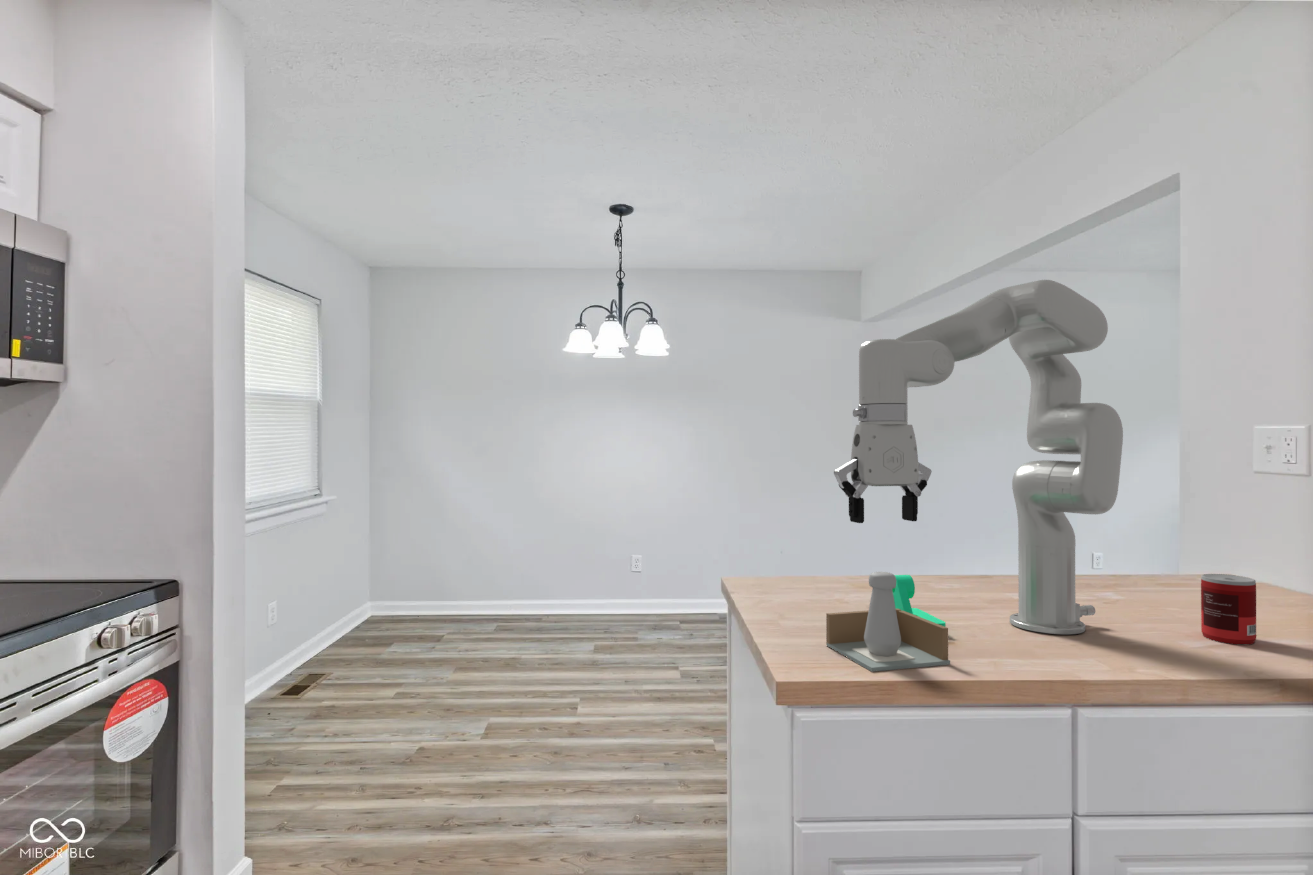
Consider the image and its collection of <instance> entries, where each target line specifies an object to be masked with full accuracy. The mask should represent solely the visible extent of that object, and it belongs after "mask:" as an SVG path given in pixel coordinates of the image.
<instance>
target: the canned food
mask: <svg viewBox="0 0 1313 875" xmlns="http://www.w3.org/2000/svg"><path fill="white" fill-rule="evenodd" d="M1200 576H1201V578H1200V605H1201V606H1200V613H1201V614H1200V616H1201V617H1200V620H1201V621H1200V622H1201V624H1200V625H1201V626H1200V627H1201V628H1200V629H1201V633H1202V636H1203V637H1204V638H1205V637H1206V639H1207V638H1209V639H1208V640H1210V639H1211V640H1210V641H1213V640H1215V641H1214V642H1217V641H1218V643H1222V642H1224V643H1223V644H1228V643H1229V644H1230V645H1237V644H1249V645H1253V644H1255V642H1256V639H1257V582H1256V581H1257V580H1255V579H1254V578H1251V577H1248V576H1243V575H1236V574H1235V575H1233V574H1226V573H1205V574H1204V573H1203V574H1201V575H1200Z"/></svg>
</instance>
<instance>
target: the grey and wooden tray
mask: <svg viewBox="0 0 1313 875" xmlns="http://www.w3.org/2000/svg"><path fill="white" fill-rule="evenodd" d="M868 611H869V609H868V610H857V611H842V612H841V611H840V612H826V613H825V614H826V618H825V619H826V620H825V621H826V626H825V627H826V631H825V632H826V634H825V635H826V643H825V644H826V645H827V646H828V648H829V647H831V648H832V649H831V648H830V649H831V650H833V649H834V650H835V651H834V650H833V651H834V652H836V651H838V652H839V653H838V652H837V653H838V654H840V653H841V654H840V655H842V654H843V655H844V656H843V655H842V656H843V657H845V656H847V657H848V658H847V657H846V658H847V659H849V658H850V659H851V661H852V660H853V661H852V662H854V661H855V662H854V663H856V664H857V663H858V665H859V666H861V667H863V668H865V669H866V670H868V671H870V672H881V671H882V672H883V671H893V670H902V669H903V670H905V669H915V668H924V667H925V668H926V667H938V666H946V665H951V660H950V659H949V627H947V626H946V627H944V626H942V625H939V624H936V623H934V622H931V621H929V620H926V619H924V618H921V617H918V616H916V615H913V614H911V613H908V612H905V611H901V610H900V609H896V614H897V620H898V625H899V630H900V635H901V644H900V646H899V649H898V651H897V653H896V655H894V656H890V657H885V656H876V655H874V654H872V653H869V651H868V648H867V646H866V643H865V641H864V634H865V628H866V622H867V617H868ZM827 646H826V647H827ZM850 659H849V660H850Z"/></svg>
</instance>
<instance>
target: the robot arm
mask: <svg viewBox="0 0 1313 875" xmlns="http://www.w3.org/2000/svg"><path fill="white" fill-rule="evenodd" d="M1108 329H1109V324H1108V320H1107V318H1106V316H1105V314H1104V312H1103V311H1102V310H1101V308H1099V306H1098V305H1096V304H1095V303H1094V302H1093V301H1091V300H1089V299H1087V298H1086V297H1084V296H1083V295H1081V294H1080V293H1078V292H1077V291H1075V290H1073V289H1072V288H1071V287H1069V286H1066V285H1065V284H1062V283H1061V282H1058V281H1055V280H1051V279H1041V280H1040V279H1038V280H1034V281H1030V282H1025V283H1021V284H1015V285H1011V286H1006V287H1004V288H1001V289H997V290H995V291H993V292H992V293H990V294H987V295H985V296H984V297H982V298H980V299H979V300H977V301H975V302H973V303H972V304H970V305H968V306H966V307H965V308H962V309H960V310H959V311H958V312H955V313H952V314H951V315H947V316H945V317H943V318H941V319H938V320H935V321H933V322H932V323H929V324H926V325H925V326H922V327H919V328H916V329H914V330H912V331H910V332H907V333H905V334H903V335H901V336H899V337H898V338H897V337H896V338H892V339H891V338H882V339H881V338H880V339H873V340H872V339H871V340H867V341H865V342H863V343H861V345H860V346H859V348H858V349H859V351H858V408H854V409H853V410H852V416H853V418H858V424H855V428H854V432H853V437H852V445H851V455H850V456H851V457H850V461H848V462H846V463H844V464H843V465H841V466H839V467H838V468H836V469H835V470H833V475H834V477H835V480H836V482H837V483H838V486H839V488H840V489H841V490H842V492H844V494H845V496H846V497H847V498H848V516H849V521H850V522H852V523H855V524H856V523H857V524H863V523H864V522H865V499H864V498H863V497H861V496H862V495H863V494H864V492H865V490H866V489H867V488H868V487H869V486H870V487H900V489H901V490H902V491H903V493H904V495H902V497H901V519H902V520H904V521H908V522H917V521H918V513H919V512H918V510H919V508H918V507H919V503H918V502H919V500H918V497H920V496H921V495H922V492H923V491H924V489H925V488H926V487H927V486H928V481H929V479H930V477H931V475H932V469H931V468H930V467H927V466H926V465H924V464H923V463H921V462H919V456H918V447H917V445H918V444H917V440H916V439H917V438H916V434H915V430H914V427H913V424H908V409H909V408H908V389H909V388H921V387H932V386H936V385H939V384H941V383H943V382H945V381H946V380H947V379H948V378H949V377H951V375H952V373H953V371H954V368H955V363H956V362H960V361H964V360H968V359H972V358H974V357H978V356H980V355H982V354H983V353H985V352H987V351H989V350H990V349H993V347H995V346H996V345H998V344H1000V343H1002V342H1003V341H1004V340H1006V339H1008V342H1009V344H1010V346H1011V348H1012V350H1013V352H1014V353H1015V354H1016V356H1018V358H1019V359H1020V361H1021V362H1022V363H1023V365H1024V366H1025V369H1026V370H1027V372H1028V376H1029V380H1030V395H1029V407H1028V413H1027V415H1028V416H1027V425H1026V426H1027V427H1026V439H1027V440H1026V441H1027V444H1028V445H1029V447H1030V448H1031V450H1033V451H1035V452H1037V453H1040V454H1041V453H1042V454H1049V455H1050V454H1051V455H1080V461H1079V460H1078V461H1076V460H1075V461H1070V460H1068V461H1067V460H1049V459H1048V460H1047V459H1046V460H1045V459H1043V460H1034V461H1029V462H1026V463H1023V464H1021V465H1020V466H1019V467H1018V468H1016V470H1015V472H1014V474H1013V476H1012V480H1011V486H1012V487H1011V489H1012V494H1013V498H1014V503H1015V508H1016V514H1017V523H1018V524H1017V525H1018V526H1017V528H1018V531H1017V532H1018V536H1017V537H1018V538H1017V540H1018V542H1017V544H1018V550H1017V552H1018V553H1017V554H1018V556H1017V558H1018V559H1017V560H1018V564H1017V565H1018V569H1017V570H1018V575H1017V576H1018V577H1017V578H1018V579H1017V580H1018V613H1013V614H1011V615H1010V616H1009V623H1010V624H1011V625H1013V626H1014V627H1017V628H1019V629H1023V630H1026V631H1029V632H1030V631H1031V632H1035V633H1041V634H1048V635H1049V634H1052V635H1077V634H1082V633H1084V632H1086V624H1085V623H1084V622H1083V621H1081V618H1082V617H1083V616H1085V617H1086V616H1087V617H1089V616H1093V615H1095V614H1096V608H1095V606H1094V605H1093V604H1085V605H1084V604H1083V605H1080V603H1078V602H1076V535H1075V534H1076V533H1075V530H1074V527H1073V526H1072V524H1071V522H1070V520H1069V518H1068V517H1067V516H1066V514H1065V513H1067V514H1068V513H1070V514H1080V515H1081V514H1083V515H1102V514H1105V513H1107V512H1109V511H1110V510H1111V509H1112V508H1113V507H1114V506H1115V503H1116V500H1117V498H1118V493H1119V492H1118V491H1119V484H1120V475H1121V466H1122V465H1121V464H1122V455H1123V452H1122V451H1123V444H1124V443H1123V441H1124V430H1123V429H1124V428H1123V422H1122V420H1121V417H1120V415H1119V413H1118V412H1117V410H1116V409H1114V408H1113V407H1112V406H1111V405H1108V404H1106V403H1101V402H1081V398H1082V378H1081V376H1080V374H1079V371H1078V369H1076V367H1075V366H1074V364H1073V363H1072V362H1071V361H1070V360H1069V359H1068V358H1067V357H1066V356H1065V354H1066V355H1067V354H1074V353H1075V354H1076V353H1084V352H1088V351H1089V352H1090V351H1093V350H1095V349H1096V348H1098V347H1100V346H1101V345H1102V344H1103V343H1105V342H1104V341H1105V340H1106V338H1107V336H1108V331H1109V330H1108ZM849 473H850V478H851V479H850V480H851V481H852V482H850V481H849V480H848V477H847V476H848V474H849Z"/></svg>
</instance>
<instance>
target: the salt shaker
mask: <svg viewBox="0 0 1313 875" xmlns="http://www.w3.org/2000/svg"><path fill="white" fill-rule="evenodd" d="M895 575H896V574H893V573H891V572H888V571H874V572H871V573H870V574H869V576H868V585H869V587H871V588H872V589H871V594H870V600H869V605H868V606H869V607H868V610H869V611H868V610H867V611H868V617H867V622H866V628H865V634H864V641H865V643H866V646H867V648H868V651H869V653H872V654H874V655H876V656H885V657H890V656H894V655H896V653H897V651H898V649H899V646H900V644H901V635H900V630H899V625H898V620H897V614H896V608H895V602H894V597H893V591H892V589H893V588H895V587H896V577H895Z"/></svg>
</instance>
